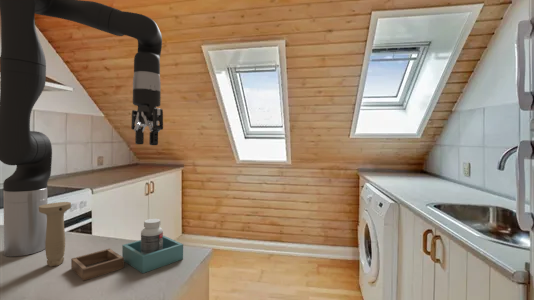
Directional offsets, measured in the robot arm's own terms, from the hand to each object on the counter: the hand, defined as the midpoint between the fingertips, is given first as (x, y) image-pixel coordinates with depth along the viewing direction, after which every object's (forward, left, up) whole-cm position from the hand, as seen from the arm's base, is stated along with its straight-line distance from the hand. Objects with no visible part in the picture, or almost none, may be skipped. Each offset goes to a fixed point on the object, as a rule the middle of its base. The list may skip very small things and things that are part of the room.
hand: (146, 144), depth 82 cm
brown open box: (+6, -15, -30) cm, 34 cm away
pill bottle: (+11, -4, -30) cm, 32 cm away
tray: (+11, -4, -30) cm, 32 cm away
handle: (-4, -21, -30) cm, 37 cm away
